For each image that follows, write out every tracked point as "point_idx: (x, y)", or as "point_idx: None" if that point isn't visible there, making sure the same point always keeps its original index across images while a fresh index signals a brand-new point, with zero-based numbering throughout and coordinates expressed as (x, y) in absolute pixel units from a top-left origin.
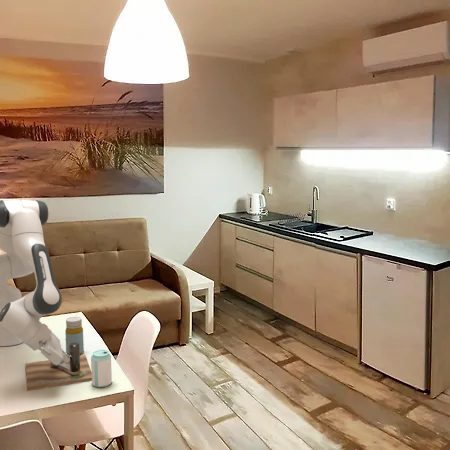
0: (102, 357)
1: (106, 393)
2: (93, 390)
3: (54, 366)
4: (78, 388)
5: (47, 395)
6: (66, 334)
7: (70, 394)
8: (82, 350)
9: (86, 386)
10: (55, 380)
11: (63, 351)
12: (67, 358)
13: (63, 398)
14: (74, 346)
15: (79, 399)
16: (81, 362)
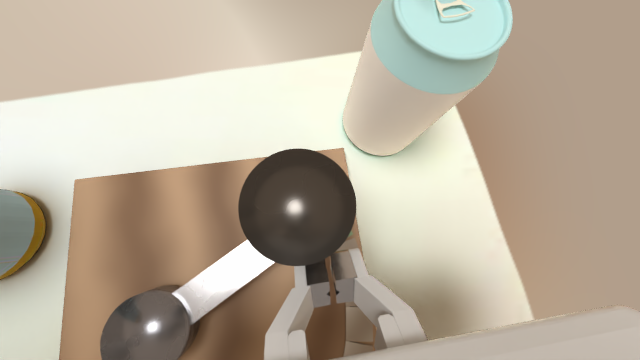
0: (498, 13)
1: (452, 112)
2: (425, 153)
3: (192, 340)
4: (401, 207)
5: (448, 335)
6: None
7: (448, 236)
8: (11, 193)
9: (389, 177)
10: (349, 314)
11: (294, 318)
12: (363, 267)
13: (478, 262)
14: (354, 200)
15: (489, 201)
16: (166, 197)
